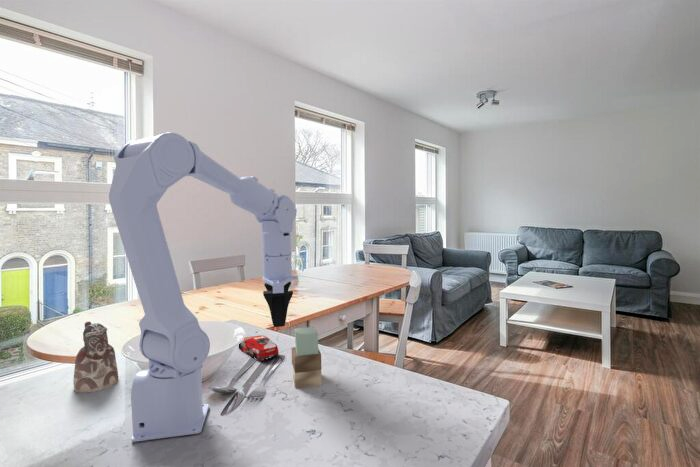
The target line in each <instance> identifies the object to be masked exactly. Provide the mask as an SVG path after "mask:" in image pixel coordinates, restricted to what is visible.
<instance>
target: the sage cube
mask: <svg viewBox="0 0 700 467" xmlns="http://www.w3.org/2000/svg"><path fill="white" fill-rule="evenodd" d="M294 342H295V343H294V344H295V345H294V347H295V349H296V353H297V356H302V355H312V354H318V349H319V333H318V330H317V328H316V326H307V327H297V328H294Z"/></svg>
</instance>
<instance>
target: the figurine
mask: <svg viewBox="0 0 700 467" xmlns="http://www.w3.org/2000/svg"><path fill="white" fill-rule="evenodd" d="M107 332H108V328H107V327H105V326H104V325H103V324H101V323H99V322H97V323H92V322H91V321H86V322H85V323H84V330H83V332H82V341H83V343H84V345H83V347H81V348H80V349H79V351H78V352H77V354H76V356H75V359H74V368H73V369H74V371H73V379H72V380H73V390H74V391H75V392H76V393H82V392H83V393H97V392H100V391H102V390H106V389H108V388H110V387H112V386H113V385H116V383H117V382H118V381H119V369H118V366H117V358H116V351H115V348H114V347H113V345H111V344H109V338H108V333H107Z"/></svg>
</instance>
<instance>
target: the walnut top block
mask: <svg viewBox="0 0 700 467" xmlns="http://www.w3.org/2000/svg"><path fill="white" fill-rule="evenodd" d="M291 364H292V367H293V368H294V371H295V373H299V372H306V371H314V370H321V371H322V353H321V351H320V349H319V348H318V354H312V355H302V356H297V353H296V349H295V346H294V347H291ZM293 368H292V369H293Z"/></svg>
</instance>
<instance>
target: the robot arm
mask: <svg viewBox="0 0 700 467" xmlns="http://www.w3.org/2000/svg"><path fill="white" fill-rule="evenodd" d="M113 159H114V162H115V168H114V172H113V176H112V181H111V184H110V185H111V186H110V189H109V191H108V192H109V193H108V200H109V206H110V208H111V210H112V214H113V217H114V221H115V224H116V227H117V230H118V234H119V236H120V241H121V242H122V246H123V249H124V253H125V255H126V256H125V257H126V259H127V261H128V265H129V268H130V271H131V274H132V277H133V281H134V283H135V286H136V290H137V293H138V297H139V300H140V302H141V306H142V309H143V311H144V312H143V313H144V315H143V317H142V318H141V319H140V321H139V322H138V326H139V330H140V340H139V351H140V354H141V355H142V356H143V357H144V359H147V360H148V368H147V369H142V370H138V372H136V374H135V375H134V378H133V381H132V385H131V391H130V392H131V394H130V395H131V396H130V404H131V406H130V407H131V421H132V422H131V423H132V436H131V439H130V440H131V442H133V443H134V442H143V441H150V440H151V441H152V440H159V439H166V438H173V437H182V436H189V435H197V434H200V433H201V432H202V430H203V426H204V424H205V420H206V417H207V414H208V412H209V408H210V404H209V403H203V390H202V389H203V387H202V386H203V385H202V384H203V382H202V368H203V364H204V363H205V362H206V360H207V358H208V356H209V354H210V349H211V342H210V338H209V336H208V334H207V333H206V332H205V331H204V330H203V329H202V328H201V326H200V324H199V321H198V318H197V317H196V315H195V314H194V313H193V312H192V311H191V310H190V309H189V308H188V307H187V306H186V304H185V302H184V298H183V295H182V292H181V288H180V283H179V281H178V277H177V273H176V270H175V267H174V264H173V259H172V255H171V252H170V249H169V245H168V242H167V238H166V234H165V231H164V228H163V224H162V221H161V217H160V213H159V210H158V207H157V204H158V202H159V201H160V200H161V198H162V197H163V196H164V195H165V193H166V192H167V190H168V189H169V188H170V187H172V186H173V185H174V184H176V183H178V182H179V181H180V180H182V179H183V178H185V177H192V178H194V179H197V180H199V181H201V182H203V183H205V184H207V185H209V186H211V187H213V188H216V189H218V190H220V191H222V192H223V193H226V194H228V195H229V198H230V201H231V203H232V204H233V205H236V206H237V207H238V208H241V209H242V210H244V211H246V212H248V213H251V215H254V216H255V218H256V220H257V222H258V223H260V224H261V241H262V243H261V245H262V247H261V248H262V250H261V251H262V276H261V278H262V279H261V280H262V282H263V283H264V287H265V289H266V290H263V292H262V294H263V298H264V299H265V301H266V302H267V306H268V309H269V312H270V317H271V321H272V322H271V323H272V325H273V328H279V327H281V328H282V327H285V326H286V322H287V316H288V315H287V314H288V309H289V305H290V302H291V299H292V297H293V294H294V290H289V289H290V287H291V284H292V281H293V280H298V274H293V272H292V270H293V268H292V238H291V237H292V236H291V235H292V234H291V233H292V232H293V229H294V221H295V219H296V217H297V213H298V212H297V208H296V206H295V203H294V201H293V200H292V199H291V198H290V197H289V196H287V195H284V194H283V195H278V193H277V192H276V191H275V190H274V188H273V189H272V188H268V187H267V186H265V185H263V184H262V183H260V182H259V178H257V177H256V176H252V175H251V176H247V175H246V176H242V177H239V176H237V175H236V174H234V172H232V171H230V170H229V169H227V168H226V167H224V165H221V163H219V162H217V161H216V160H215V159H213V158H212V157H210V156H209V155H207V154H205V153H204V152H203V151H202V150H201V148H200V147H199V145H198V144H197V143H195V142H194V141H190V140H187V139H186V138H185V137H184V136H182V135H181V134H179V133H176V132H164V133H161V134H159V135H154V136H150V137H146V138H142V139H141V138H138V139H132V140H130V141H128V142H126V144H124V145H123V146H122V148H121V149H120V150H118V152H117V153H116V154H115V155H114V156H113Z"/></svg>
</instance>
